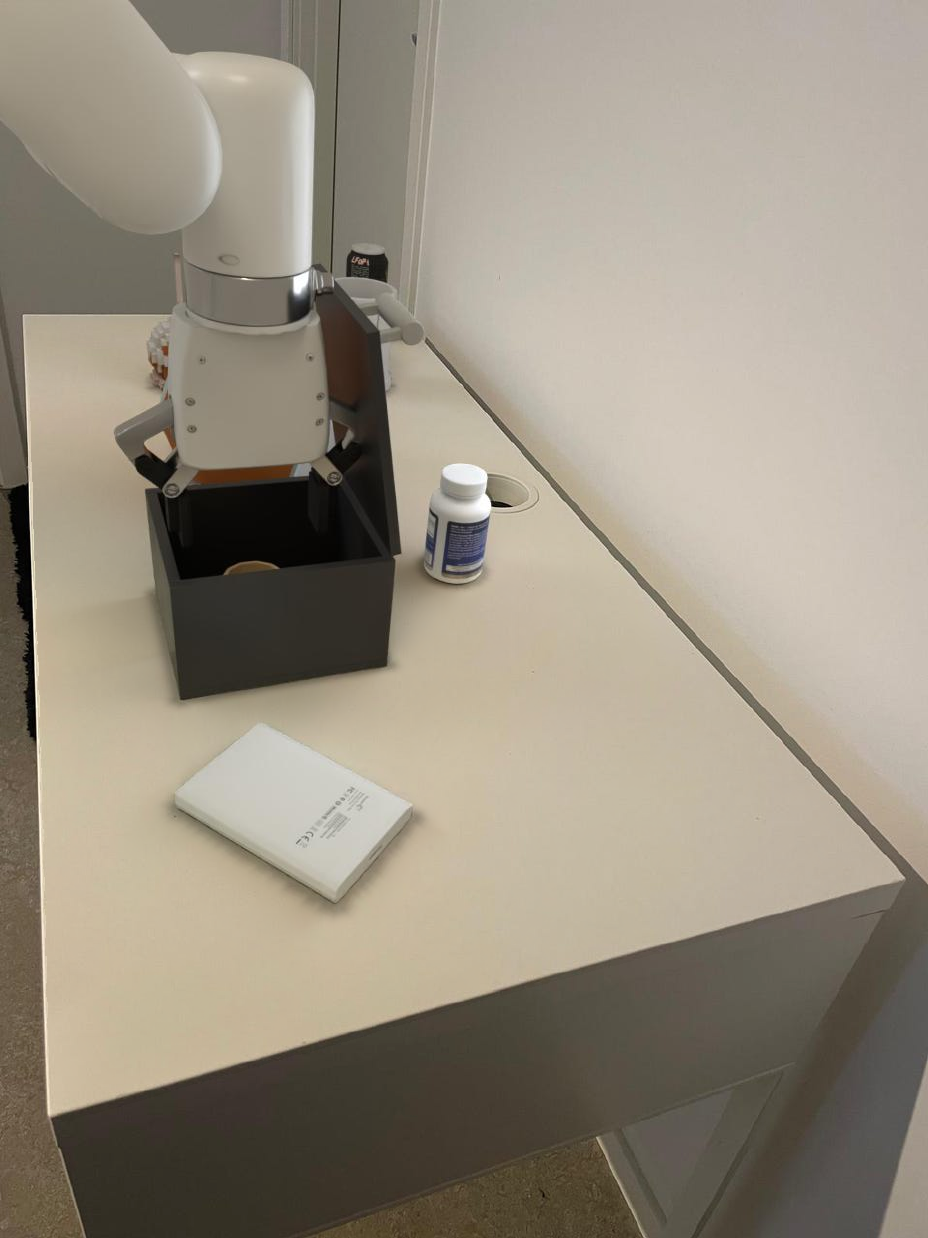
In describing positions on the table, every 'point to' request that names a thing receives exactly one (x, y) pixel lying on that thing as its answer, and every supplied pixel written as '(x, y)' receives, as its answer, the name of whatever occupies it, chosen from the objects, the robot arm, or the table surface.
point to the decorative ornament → (163, 336)
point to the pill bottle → (458, 525)
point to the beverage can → (367, 262)
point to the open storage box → (269, 587)
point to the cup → (366, 293)
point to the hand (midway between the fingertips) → (252, 531)
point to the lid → (366, 394)
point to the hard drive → (295, 809)
